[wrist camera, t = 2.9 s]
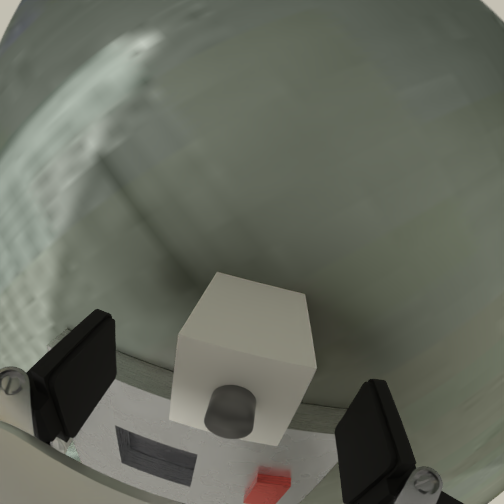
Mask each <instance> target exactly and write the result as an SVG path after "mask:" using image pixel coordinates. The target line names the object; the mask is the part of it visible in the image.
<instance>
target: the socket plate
mask: <svg viewBox="0 0 504 504" xmlns="http://www.w3.org/2000/svg"><path fill="white" fill-rule="evenodd" d="M70 332H71V331H70V330H68V329H66V330H65V331H63V332H62V333H61V334H60V335H59V336H57V337H56V338H55V339H54V340H53V341H52V342H50V343H49V344H48V345H47V348H48V352H49V351H50V350H51V349H52V348H53V347H54V346H55V345H56V344H57V343H58V342H59V341H60V340H61V339H63V338H64V337H65V336H66V335H67V334H69V333H70ZM116 366H117V374H116V378H115V380H114V381H113V383H112V384H111V386H110V387H109V388H108V390H107V391H106V393H105V394H104V396H103V397H102V398H101V400H100V401H99V403H98V404H97V406H96V407H95V409H94V410H93V412H92V413H91V414H90V416H89V417H88V419H87V420H86V422H85V423H84V425H83V426H82V428H81V429H80V431H79V432H78V434H77V435H76V437H74V438H72V439H73V442H74V445H75V447H76V450H77V452H78V455H79V457H80V460H81V462H82V464H84V465H86V466H88V467H90V468H92V469H94V470H96V471H98V472H100V473H103V474H105V475H107V476H109V477H111V478H114V479H116V480H118V481H121V482H123V483H126V484H128V485H131V486H133V487H136V488H138V489H141V490H144V491H147V492H149V493H152V494H155V495H158V496H161V497H164V498H168V499H171V500H174V501H178V502H181V503H185V504H299V503H300V502H301V501H302V500H303V499H304V498H305V497H306V496H307V495H308V494H309V493H310V492H311V491H312V489H313V488H314V487H315V486H316V485H317V484H318V483H319V482H320V481H321V480H322V479H323V478H324V477H325V476H326V474H327V473H328V472H329V471H330V470H331V469H332V468H333V466H334V465H335V464H336V463H337V462H338V455H337V448H336V440H335V428H336V426H337V424H338V423H339V421H340V420H341V418H342V417H343V415H344V414H345V412H346V411H347V409H340V408H332V407H324V406H317V405H310V404H304V403H300V405H299V407H298V409H297V410H296V412H295V414H294V416H293V418H292V420H291V422H290V424H289V426H288V428H287V429H286V431H285V433H284V435H283V437H282V439H281V440H280V442H279V444H278V446H272V445H266V444H261V443H256V442H250V441H246V440H241V439H227V438H223V437H219V436H217V435H215V434H213V433H212V432H208V431H204V430H201V429H197V428H194V427H190V426H187V425H184V424H181V423H177V422H174V421H171V420H169V414H170V403H171V393H172V383H173V374H174V372H172V371H169V370H166V369H163V368H160V367H158V366H155V365H152V364H149V363H146V362H144V361H141V360H138V359H136V358H133V357H130V356H128V355H125V354H123V353H120V352H118V351H116Z"/></svg>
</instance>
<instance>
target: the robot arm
mask: <svg viewBox="0 0 504 504" xmlns="http://www.w3.org/2000/svg"><path fill="white" fill-rule="evenodd" d="M116 374H117V366H116V343H115V320H114V319H112V316H111V314H109V313H107V312H104V311H102V310H99V309H96V310H94V311H93V312H92V313H91V314H90V315H89V316H87V317H86V318H85V319H84V320H83V321H82V322H81V323H80V324H78V325H77V326H76V327H75V328H74V329H73V330H72V331H71V332H70V333H69V334H67V335H66V336H65V337H64V338H63V339H61V340H60V341H59V342H58V343H57V344H56V345H55V346H54V347H53V348H52V349H51V350H50V351H49V352H48V353H46V354H45V355H44V356H43V357H42V358H41V359H40V360H39V361H38V362H37V363H36V364H35V365H34V366H33V367H32V368H31V369H30V370H29V371H28V372H27V373H25V372H24V371H23V370H22V369H20V368H17V367H5V368H2V369H0V504H185V503H181V502H178V501H174V500H171V499H168V498H164V497H161V496H158V495H155V494H152V493H149V492H147V491H144V490H141V489H138V488H136V487H133V486H131V485H128V484H126V483H123V482H121V481H118V480H116V479H114V478H111V477H109V476H107V475H105V474H103V473H100V472H98V471H96V470H94V469H92V468H90V467H88V466H86V465H84V464H82V463H80V462H78V461H76V460H74V459H72V458H71V457H69V456H67V455H65V454H63V453H62V452H60V451H58V450H56V449H55V448H54V447H53V442H52V441H54V440H55V438H56V437H58V438H59V439H61V440H63V441H64V442H66V443H67V442H68V440H69V439H70V437H71V438H74V437H76V435H77V434H78V432H79V431H80V429H81V428H82V426H83V425H84V423H85V422H86V420H87V419H88V417H89V416H90V414H91V413H92V412H93V410H94V409H95V407H96V406H97V404H98V403H99V401H100V400H101V398H102V397H103V396H104V394H105V393H106V391H107V390H108V388H109V387H110V386H111V384H112V383H113V381H114V380H115V378H116ZM335 440H336V448H337V455H338V463H339V471H340V479H341V488H342V497H343V502H344V503H345V504H463V503H462V502H460V501H458V500H456V499H454V498H453V497H451V496H449V495H448V494H446V493H444V492H443V491H442V486H443V483H442V479H441V477H440V475H439V474H438V473H437V471H435V470H434V469H432V468H429V467H424V466H422V467H418V468H416V466H415V464H416V461H415V458H414V455H413V452H412V449H411V446H410V443H409V440H408V438H407V435H406V432H405V429H404V427H403V424H402V421H401V418H400V416H399V413H398V411H397V408H396V405H395V403H394V400H393V398H392V395H391V393H390V390H389V388H388V385H387V383H386V381H385V380H378V379H370V380H369V381H368V382H365V383H364V384H363V385H362V387H361V388H360V390H359V392H358V393H357V395H356V397H355V398H354V400H353V402H352V403H351V405H350V406H349V408H348V409H347V411H346V412H345V414H344V415H343V417H342V418H341V420H340V421H339V423H338V424H337V426H336V428H335Z"/></svg>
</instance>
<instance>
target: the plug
mask: <svg viewBox="0 0 504 504" xmlns="http://www.w3.org/2000/svg"><path fill="white" fill-rule="evenodd" d="M316 369H317V365H316V358H315V352H314V345H313V339H312V332H311V326H310V320H309V314H308V308H307V303H306V297H305V294H303V293H299V292H294V291H290V290H286V289H282V288H278V287H274V286H270V285H266V284H262V283H259V282H255V281H251V280H247V279H243V278H239V277H235V276H231V275H228V274H224V273H220V272H217V273H216V274H215V276H214V277H213V279H212V280H211V282H210V284H209V285H208V287H207V288H206V290H205V292H204V293H203V295H202V296H201V298H200V300H199V301H198V303H197V305H196V306H195V308H194V309H193V311H192V313H191V314H190V316H189V317H188V319H187V321H186V322H185V324H184V326H183V327H182V329H181V330H180V332H179V334H178V340H177V348H176V356H175V365H174V374H173V383H172V393H171V403H170V414H169V420H171V421H174V422H177V423H181V424H184V425H187V426H190V427H194V428H197V429H201V430H204V431H208V432H212V433H213V434H215V435H217V436H219V437H223V438H227V439H241V440H246V441H250V442H256V443H261V444H266V445H272V446H278V444H279V442H280V440H281V439H282V437H283V435H284V433H285V431H286V429H287V428H288V426H289V424H290V422H291V420H292V418H293V416H294V414H295V412H296V410H297V409H298V407H299V405H300V403H301V401H302V399H303V397H304V395H305V393H306V390H307V388H308V386H309V384H310V382H311V380H312V378H313V376H314V374H315V372H316Z"/></svg>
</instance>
